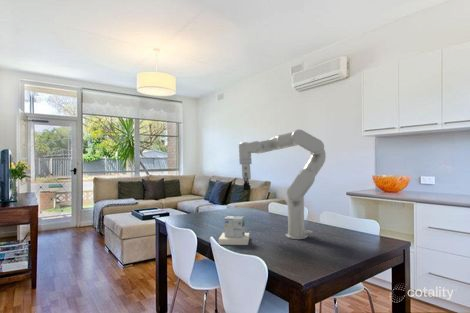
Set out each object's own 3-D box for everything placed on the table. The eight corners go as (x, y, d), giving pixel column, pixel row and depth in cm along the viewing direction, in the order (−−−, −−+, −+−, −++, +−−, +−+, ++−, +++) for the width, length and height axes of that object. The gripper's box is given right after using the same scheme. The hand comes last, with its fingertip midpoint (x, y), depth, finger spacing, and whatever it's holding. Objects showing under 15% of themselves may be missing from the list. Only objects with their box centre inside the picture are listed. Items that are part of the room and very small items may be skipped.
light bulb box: (245, 234, 159) (244, 216, 159) (242, 237, 152) (242, 218, 152) (227, 233, 161) (227, 215, 162) (224, 237, 155) (223, 217, 155)
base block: (249, 237, 163) (249, 232, 163) (247, 245, 149) (247, 239, 149) (222, 237, 165) (222, 232, 165) (218, 244, 151) (218, 239, 151)
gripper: (251, 161, 163) (252, 190, 162) (251, 161, 180) (252, 187, 179) (238, 162, 163) (239, 190, 163) (240, 162, 180) (241, 188, 180)
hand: (246, 189), depth 171 cm, fingers open, 9 cm apart
